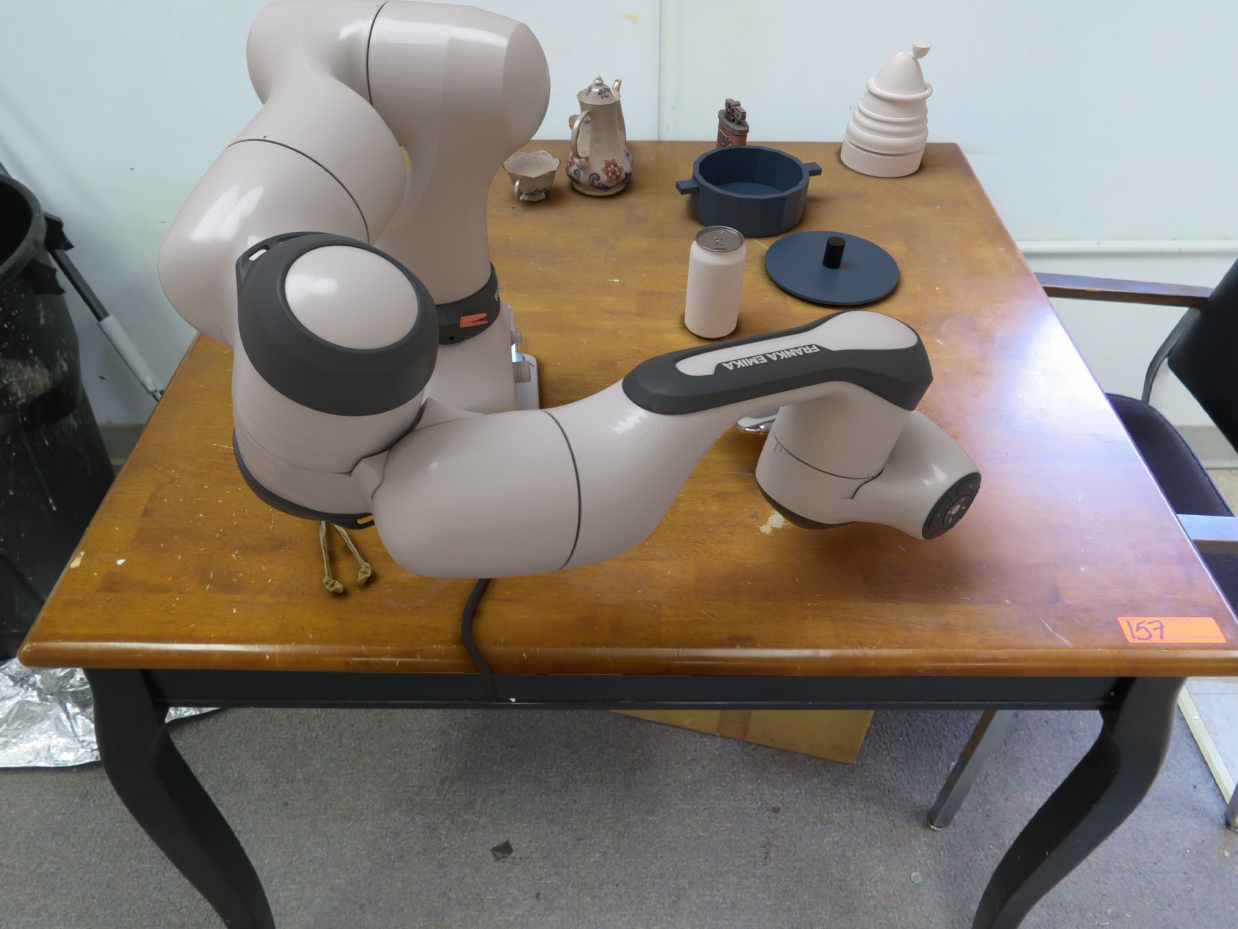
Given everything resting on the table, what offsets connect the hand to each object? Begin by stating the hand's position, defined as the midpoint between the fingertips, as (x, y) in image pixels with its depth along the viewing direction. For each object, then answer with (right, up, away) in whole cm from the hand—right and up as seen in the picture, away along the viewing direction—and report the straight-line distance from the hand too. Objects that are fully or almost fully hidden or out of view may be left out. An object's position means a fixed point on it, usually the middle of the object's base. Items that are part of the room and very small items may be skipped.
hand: (766, 342), depth 86 cm
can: (-5, +4, +12) cm, 14 cm away
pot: (+3, +25, +32) cm, 41 cm away
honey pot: (+27, +37, +44) cm, 64 cm away
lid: (+13, +13, +20) cm, 27 cm away
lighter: (+2, +35, +43) cm, 55 cm away
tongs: (-43, -21, -12) cm, 50 cm away
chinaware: (-22, +32, +39) cm, 55 cm away
